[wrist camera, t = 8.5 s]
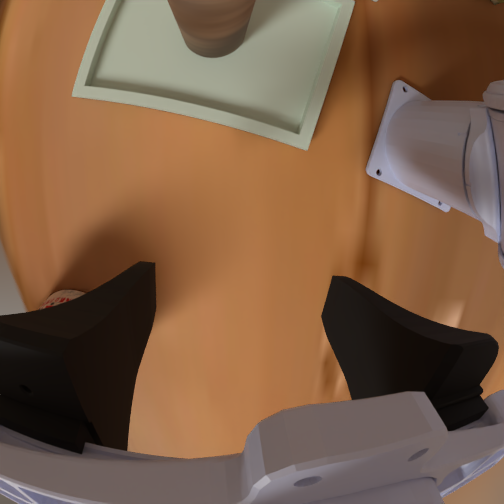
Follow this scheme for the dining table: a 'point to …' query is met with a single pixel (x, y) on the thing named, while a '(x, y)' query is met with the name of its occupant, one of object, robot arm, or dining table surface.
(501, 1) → the food packaging
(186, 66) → the sage tray
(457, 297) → the dining table surface
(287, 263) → the dining table surface
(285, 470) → the robot arm
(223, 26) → the walnut pin
